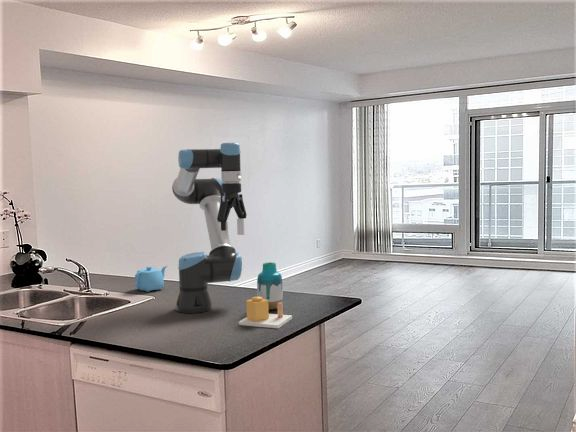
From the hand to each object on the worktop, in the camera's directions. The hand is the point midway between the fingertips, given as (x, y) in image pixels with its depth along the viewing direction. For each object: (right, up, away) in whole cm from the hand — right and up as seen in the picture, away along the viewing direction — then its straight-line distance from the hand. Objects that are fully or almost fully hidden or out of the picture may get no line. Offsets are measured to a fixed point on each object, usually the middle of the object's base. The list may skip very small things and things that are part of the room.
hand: (233, 236), depth 220 cm
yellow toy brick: (+10, -31, -6) cm, 33 cm away
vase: (+14, -31, +12) cm, 36 cm away
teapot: (-45, -28, +57) cm, 78 cm away
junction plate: (+13, -32, -6) cm, 35 cm away
